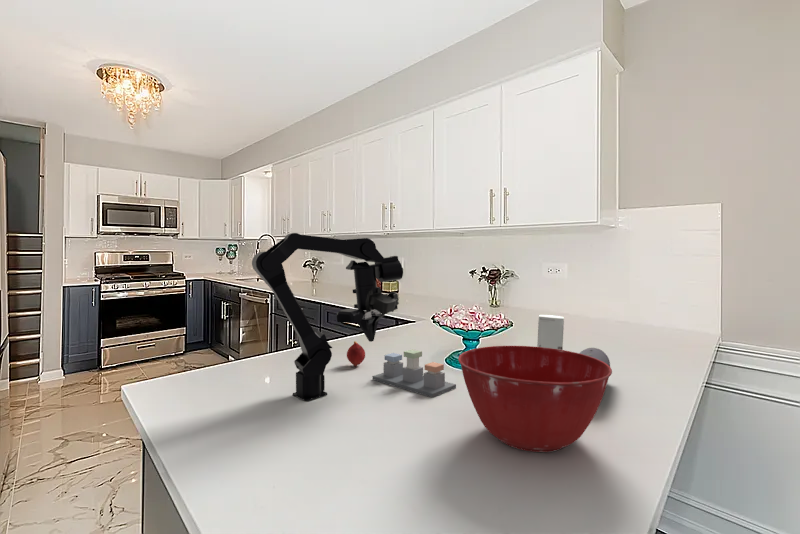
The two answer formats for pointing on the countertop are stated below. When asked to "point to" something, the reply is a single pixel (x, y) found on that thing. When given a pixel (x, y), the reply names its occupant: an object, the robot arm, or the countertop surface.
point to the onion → (356, 354)
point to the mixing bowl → (534, 393)
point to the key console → (414, 380)
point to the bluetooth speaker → (596, 354)
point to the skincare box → (550, 331)
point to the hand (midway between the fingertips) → (371, 341)
